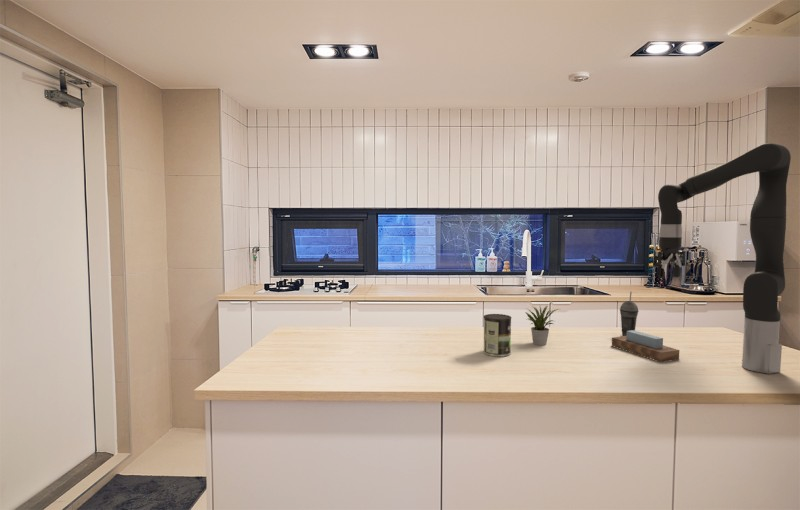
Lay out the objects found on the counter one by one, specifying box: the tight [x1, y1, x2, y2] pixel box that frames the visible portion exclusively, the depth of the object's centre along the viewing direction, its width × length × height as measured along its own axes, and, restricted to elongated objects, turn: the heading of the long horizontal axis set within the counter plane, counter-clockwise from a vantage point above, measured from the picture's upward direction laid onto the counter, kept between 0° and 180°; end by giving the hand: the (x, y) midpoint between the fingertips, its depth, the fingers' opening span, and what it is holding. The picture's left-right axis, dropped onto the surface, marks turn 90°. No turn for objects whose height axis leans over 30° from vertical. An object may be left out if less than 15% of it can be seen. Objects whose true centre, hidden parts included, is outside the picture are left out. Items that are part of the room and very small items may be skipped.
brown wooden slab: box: [611, 335, 680, 363], centre depth 168 cm, size 22×9×4 cm, turn 20°
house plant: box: [525, 304, 560, 346], centre depth 181 cm, size 14×14×16 cm
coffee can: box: [482, 313, 512, 358], centre depth 167 cm, size 10×10×14 cm
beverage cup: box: [619, 291, 639, 336], centre depth 191 cm, size 7×7×20 cm
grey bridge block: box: [626, 330, 664, 348], centre depth 168 cm, size 13×4×6 cm, turn 20°
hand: (668, 277), depth 173 cm, fingers open, 8 cm apart
